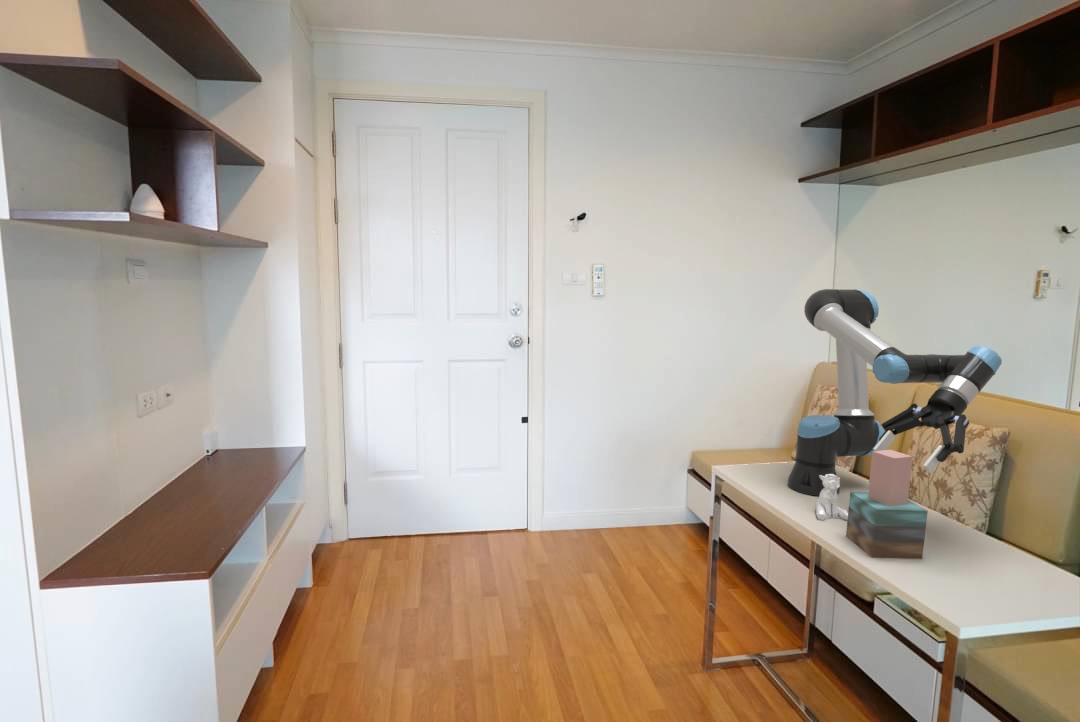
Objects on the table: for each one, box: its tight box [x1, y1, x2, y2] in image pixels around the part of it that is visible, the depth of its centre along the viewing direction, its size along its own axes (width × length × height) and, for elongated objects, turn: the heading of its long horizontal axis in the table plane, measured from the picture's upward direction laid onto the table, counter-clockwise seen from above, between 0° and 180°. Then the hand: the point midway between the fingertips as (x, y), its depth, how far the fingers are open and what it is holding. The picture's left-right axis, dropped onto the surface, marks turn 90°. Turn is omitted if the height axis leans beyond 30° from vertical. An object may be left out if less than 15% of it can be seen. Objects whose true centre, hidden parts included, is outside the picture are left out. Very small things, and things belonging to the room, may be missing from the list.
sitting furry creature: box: [815, 474, 848, 521], centre depth 163 cm, size 10×9×12 cm
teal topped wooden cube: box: [845, 491, 928, 560], centre depth 143 cm, size 12×12×12 cm
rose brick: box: [867, 449, 913, 506], centre depth 141 cm, size 6×6×12 cm
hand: (900, 460), depth 141 cm, fingers open, 13 cm apart
